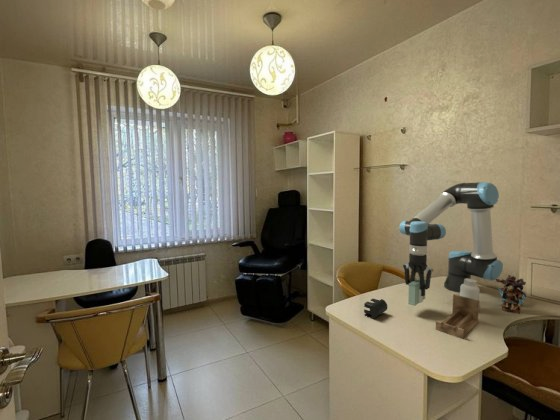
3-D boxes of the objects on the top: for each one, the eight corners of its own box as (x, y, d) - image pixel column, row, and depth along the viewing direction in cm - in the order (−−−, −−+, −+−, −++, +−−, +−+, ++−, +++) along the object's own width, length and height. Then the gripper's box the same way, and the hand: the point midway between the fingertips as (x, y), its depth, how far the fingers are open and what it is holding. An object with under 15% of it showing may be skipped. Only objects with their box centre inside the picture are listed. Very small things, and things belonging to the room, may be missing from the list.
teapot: (493, 300, 150) (494, 287, 150) (498, 298, 154) (498, 285, 153) (522, 308, 141) (523, 294, 140) (526, 305, 144) (527, 291, 144)
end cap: (377, 321, 126) (378, 306, 125) (363, 316, 131) (363, 302, 130) (387, 314, 133) (387, 300, 132) (373, 309, 138) (374, 296, 137)
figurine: (499, 312, 135) (504, 276, 134) (492, 305, 144) (496, 271, 143) (526, 316, 132) (531, 279, 131) (517, 309, 141) (521, 274, 139)
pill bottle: (481, 313, 134) (483, 283, 133) (463, 311, 136) (464, 281, 135) (473, 306, 142) (475, 278, 141) (456, 305, 144) (457, 276, 143)
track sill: (435, 329, 118) (436, 306, 118) (453, 314, 133) (454, 294, 132) (462, 338, 111) (463, 314, 110) (477, 322, 125) (479, 300, 125)
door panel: (408, 304, 133) (408, 283, 132) (418, 297, 140) (419, 277, 140) (414, 306, 130) (415, 285, 129) (425, 298, 138) (425, 279, 137)
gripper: (397, 252, 137) (397, 298, 139) (432, 257, 125) (431, 308, 127) (404, 249, 142) (403, 294, 144) (439, 255, 130) (437, 303, 132)
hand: (416, 300), depth 135 cm, fingers closed on door panel, 3 cm apart
